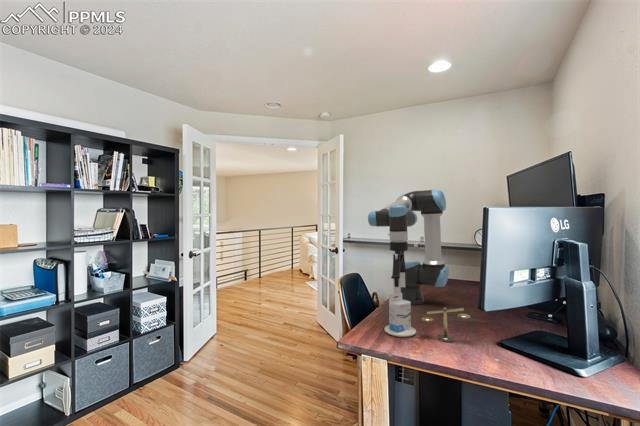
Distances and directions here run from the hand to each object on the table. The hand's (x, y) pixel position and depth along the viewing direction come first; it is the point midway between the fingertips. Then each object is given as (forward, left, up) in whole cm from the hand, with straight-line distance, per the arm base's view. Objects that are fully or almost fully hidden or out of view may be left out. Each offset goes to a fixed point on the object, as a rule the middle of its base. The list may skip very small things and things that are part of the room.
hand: (399, 290), depth 130 cm
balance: (+1, +18, -18) cm, 25 cm away
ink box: (0, 0, -17) cm, 17 cm away
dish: (0, 0, -18) cm, 18 cm away
